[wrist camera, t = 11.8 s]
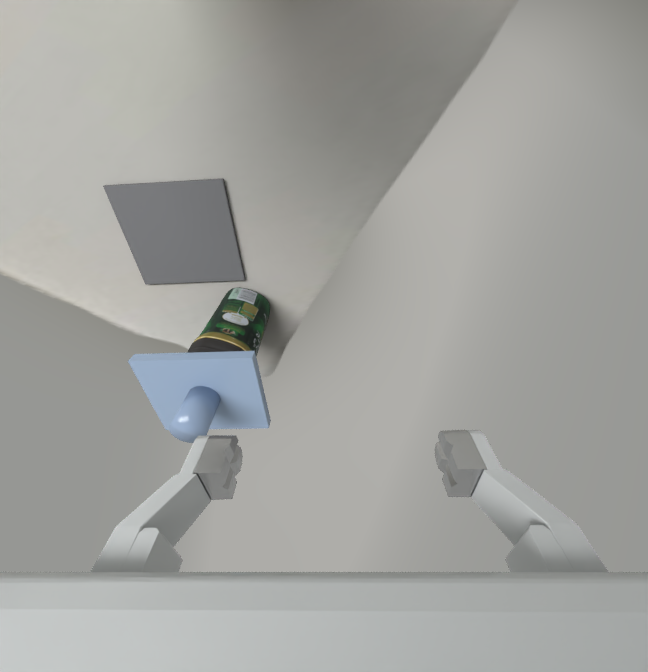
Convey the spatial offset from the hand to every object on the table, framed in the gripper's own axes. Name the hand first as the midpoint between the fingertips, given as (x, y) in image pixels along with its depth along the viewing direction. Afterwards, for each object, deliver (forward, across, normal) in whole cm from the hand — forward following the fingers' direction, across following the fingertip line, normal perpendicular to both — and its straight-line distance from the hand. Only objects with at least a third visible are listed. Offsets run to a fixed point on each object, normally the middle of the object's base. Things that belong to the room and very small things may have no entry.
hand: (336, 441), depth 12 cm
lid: (+17, +15, +13) cm, 26 cm away
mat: (+35, +22, 0) cm, 41 cm away
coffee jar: (+35, +15, +13) cm, 41 cm away
